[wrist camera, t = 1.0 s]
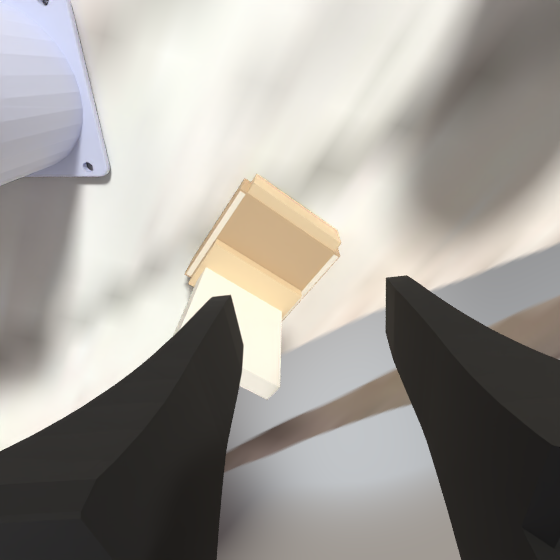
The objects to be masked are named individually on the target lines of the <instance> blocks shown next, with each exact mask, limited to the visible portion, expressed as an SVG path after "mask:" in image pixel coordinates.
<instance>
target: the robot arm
mask: <svg viewBox="0 0 560 560" xmlns="http://www.w3.org/2000/svg"><path fill="white" fill-rule="evenodd" d="M87 162H88V163H90V164H91V165H92V166H93V171H92V170H90V169H88V167H87V166H86V163H87ZM109 170H110V165H109V161H108V157H107V152H106V148H105V144H104V140H103V136H102V131H101V127H100V123H99V119H98V115H97V111H96V106H95V102H94V98H93V94H92V90H91V85H90V81H89V77H88V73H87V69H86V64H85V60H84V56H83V52H82V48H81V44H80V39H79V35H78V31H77V27H76V23H75V18H74V14H73V10H72V6H71V2H70V0H49V3H48V5H46V6H45V5H44V4H43V2H42V0H0V186H1V185H4V184H6V183H9V182H11V181H14V180H16V179H19V178H21V177H101V176H105V175H106V174H107V173H109ZM386 334H387V339H388V343H389V346H390V350H391V353H392V357H393V360H394V363H395V365H396V368H397V370H398V373H399V375H400V377H401V380H402V382H403V384H404V387H405V389H406V392H407V394H408V396H409V399H410V401H411V403H412V406H413V408H414V410H415V413H416V415H417V417H418V420H419V422H420V424H421V427H422V430H423V432H424V435H425V438H426V440H427V444H428V447H429V450H430V453H431V456H432V459H433V463H434V466H435V469H436V473H437V476H438V479H439V483H440V486H441V490H442V493H443V496H444V500H445V503H446V506H447V510H448V513H449V517H450V520H451V524H452V528H453V531H454V535H455V539H456V542H457V546H458V549H459V553H460V557H461V560H560V360H558V359H555V358H553V357H550V356H548V355H545V354H543V353H540V352H538V351H536V350H533V349H531V348H529V347H527V346H524V345H522V344H520V343H518V342H516V341H514V340H512V339H510V338H508V337H506V336H504V335H502V334H500V333H498V332H496V331H494V330H492V329H490V328H488V327H486V326H484V325H483V324H481V323H479V322H477V321H476V320H474V319H472V318H471V317H469V316H467V315H465V314H464V313H462V312H461V311H459V310H457V309H456V308H454V307H453V306H451V305H450V304H448V303H446V302H445V301H443V300H442V299H441V298H439V297H437V296H436V295H435V294H433V293H432V292H430V291H429V290H427V289H426V288H425V287H423V286H422V285H420V284H419V283H417V282H416V281H415V280H413V279H412V278H410V277H409V276H398V277H388V278H386ZM243 350H244V344H243V340H242V336H241V332H240V328H239V324H238V320H237V317H236V313H235V309H234V305H233V301H232V297H231V295H224V296H215V297H211V298H210V299H209V300H208V301H207V302H206V303H205V304H204V305H203V306H202V307H201V308H200V309H199V310H198V311H197V312H196V314H195V315H194V316H193V317H192V318H191V319H190V320H189V321H188V322H187V323H186V324H185V325H184V326H183V327H182V328H181V329H180V330H179V331H178V332H177V333H176V334H175V335H174V336H173V337H172V338H171V339H170V340H169V341H167V342H166V343H165V344H164V345H163V346H162V347H161V348H160V349H159V350H158V351H157V352H156V353H154V354H153V355H152V356H151V357H150V358H149V359H148V360H146V361H145V362H144V363H143V364H142V365H140V366H139V367H138V368H137V369H135V370H134V371H133V372H132V373H130V374H129V375H128V376H126V377H125V378H124V379H122V380H121V381H120V382H118V383H117V384H115V385H114V386H112V387H111V388H110V389H108V390H107V391H105V392H104V393H102V394H101V395H99V396H98V397H96V398H95V399H93V400H92V401H90V402H89V403H87V404H86V405H84V406H83V407H81V408H79V409H78V410H76V411H74V412H73V413H71V414H69V415H68V416H66V417H64V418H63V419H61V420H59V421H57V422H56V423H54V424H52V425H50V426H48V427H47V428H45V429H43V430H41V431H39V432H38V433H36V434H34V435H32V436H30V437H28V438H26V439H24V440H22V441H20V442H18V443H16V444H14V445H12V446H10V447H8V448H6V449H4V450H2V451H0V560H216V559H217V545H218V531H219V529H218V528H219V518H220V507H221V495H222V485H223V475H224V466H225V456H226V449H227V443H228V437H229V433H230V428H231V423H232V418H233V414H234V409H235V404H236V400H237V395H238V390H239V385H240V380H241V375H242V365H243Z"/></svg>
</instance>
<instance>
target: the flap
mask: <svg viewBox="0 0 560 560" xmlns="http://www.w3.org/2000/svg"><path fill="white" fill-rule="evenodd" d="M188 284H189V285H191V286H193V287H194V289H193V291H192V293H191V296H190V298H189V300H188V302H187V305H186V307H185V309H184V312H183V314H182V316H181V319H180V321H179V323H178V326H177V328H176V330H175V332H174V335H175V334H176V333H177V332H178V331H179V330H180V329H181V328H182V327H183V326H184V325H185V324H186V323H187V322H188V321H189V320H190V319H191V318H192V317H193V316H194V315H195V314H196V312H197V311H198V310H199V309H200V308H201V307H202V306H203V305H204V304H205V303H206V302H207V301H208V300H209V299H210V298H211V297H215V296H224V295H231V297H232V301H233V305H234V309H235V313H236V317H237V320H238V324H239V328H240V332H241V336H242V340H243V344H244V350H243V365H242V375H241V380H240V385H239V386H240V387H243V388H244V389H247V390H248V391H250V392H253V393H255V394H257V395H259V396H261V397H263V398H265V399H267V400H268V399H269V398H270V397H271V396H272V395H273V394H274V393H275V392H276V391H277V390H278V389H279V388H280V371H281V328H282V318H283V317H284V316H285V315H286V314H287V313H288V311H289V310H290V309H291V308H292V307H293V306H294V305H295V304H296V302H297V301H298V300H299V299H300V298H301V297H302V294H301V290H299V289H297V288H296V287H294V286H293V285H291V284H289V283H288V282H286V281H285V280H283V279H281V278H280V277H278V276H276V275H275V274H273V273H272V272H270V271H268V270H267V269H265V268H264V267H262V266H260V265H259V264H257V263H255V262H254V261H252V260H251V259H249V258H247V257H246V256H244V255H243V254H241V253H239V252H238V251H236V250H234V249H233V248H231V247H230V246H228V245H226V244H225V243H223V242H222V241H220V240H218V239H217V240H216V241H215V243H214V244H213V246H212V247H211V249H210V250H209V252H208V253H207V255H206V256H205V258H204V259H203V261H202V262H201V264H200V265H199V267H198V268H197V270H196V271H195V273H194V274H193V276H192V277H191V279H190V281H189V283H188ZM174 335H173V336H174Z"/></svg>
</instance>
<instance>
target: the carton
mask: <svg viewBox="0 0 560 560" xmlns="http://www.w3.org/2000/svg"><path fill="white" fill-rule="evenodd" d="M217 239H218V240H220V241H222V242H223V243H225V244H226V245H228V246H230V247H231V248H233V249H234V250H236V251H238V252H239V253H241V254H243V255H244V256H246V257H247V258H249V259H251V260H252V261H254V262H255V263H257V264H259V265H260V266H262V267H264V268H265V269H267V270H268V271H270V272H272V273H273V274H275V275H276V276H278V277H280V278H281V279H283V280H285V281H286V282H288V283H289V284H291V285H293V286H294V287H296V288H297V289H299V290H301V294H302V297H301V298H300V299H299V300H298V301H297V302H296V304H295V305H294V306H293V307H292V308H291V309H290V310H289V311H288V313H287V314H286V315H285V316H284V317H283V318H282V321H283V320H284V319H285V318H286V317H287V316H288V314H289V313H290V312H291V311H292V310H293V309H294V308H295V306H296V305H297V304H298V303H299V302H300V301H301V300H302V299H303V297H304V296H305V295H306V294H307V293H308V292H309V291H310V290H311V288H312V287H313V286H314V285H315V284H316V283H317V282H318V281H319V279H320V278H321V277H322V276H323V275H324V274H325V273H326V272H327V270H328V269H329V268H330V267H331V266H332V265H333V264H334V263H335V261H336V260H337V259H338V258H339V257H340V254H339V250H338V247H339V245H340V244H341V241H340V237H339V234H338V231H337V230H336V229H335V228H333V227H332V226H330V225H329V224H327V223H326V222H325V221H323V220H322V219H320V218H319V217H317V216H316V215H315V214H313V213H312V212H310V211H309V210H308V209H306V208H305V207H303V206H302V205H300V204H299V203H298V202H296V201H295V200H293V199H292V198H290V197H289V196H288V195H286V194H285V193H283V192H282V191H280V190H279V189H278V188H276V187H275V186H273V185H272V184H271V183H269V182H268V181H266V180H265V179H263V178H262V177H261V176H259V175H258V174H256V176H255V177H254V179H253V180H252V182H250V181H248V180H247V179H244V180H243V182H242V183H241V185H240V186H239V188H238V189H237V191H236V192H235V194H234V195H233V197H232V199H231V200H230V202H229V203H228V205H227V206H226V208H225V209H224V211H223V212H222V214H221V216H220V217H219V219H218V220H217V222H216V223H215V225H214V226H213V228H212V229H211V231H210V232H209V234H208V236H207V237H206V239H205V240H204V242H203V243H202V245H201V246H200V248H199V249H198V251H197V252H196V254H195V256H194V257H193V259H192V261H191V263H190V265H189V267H188V268H187V270H186V272H185V275H187V276H188V277H190V278H191V277H192V276H193V274H194V273H195V271H196V270H197V268H198V267H199V265H200V264H201V262H202V261H203V259H204V258H205V256H206V255H207V253H208V252H209V250H210V249H211V247H212V246H213V244H214V243H215V241H216V240H217Z"/></svg>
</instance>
